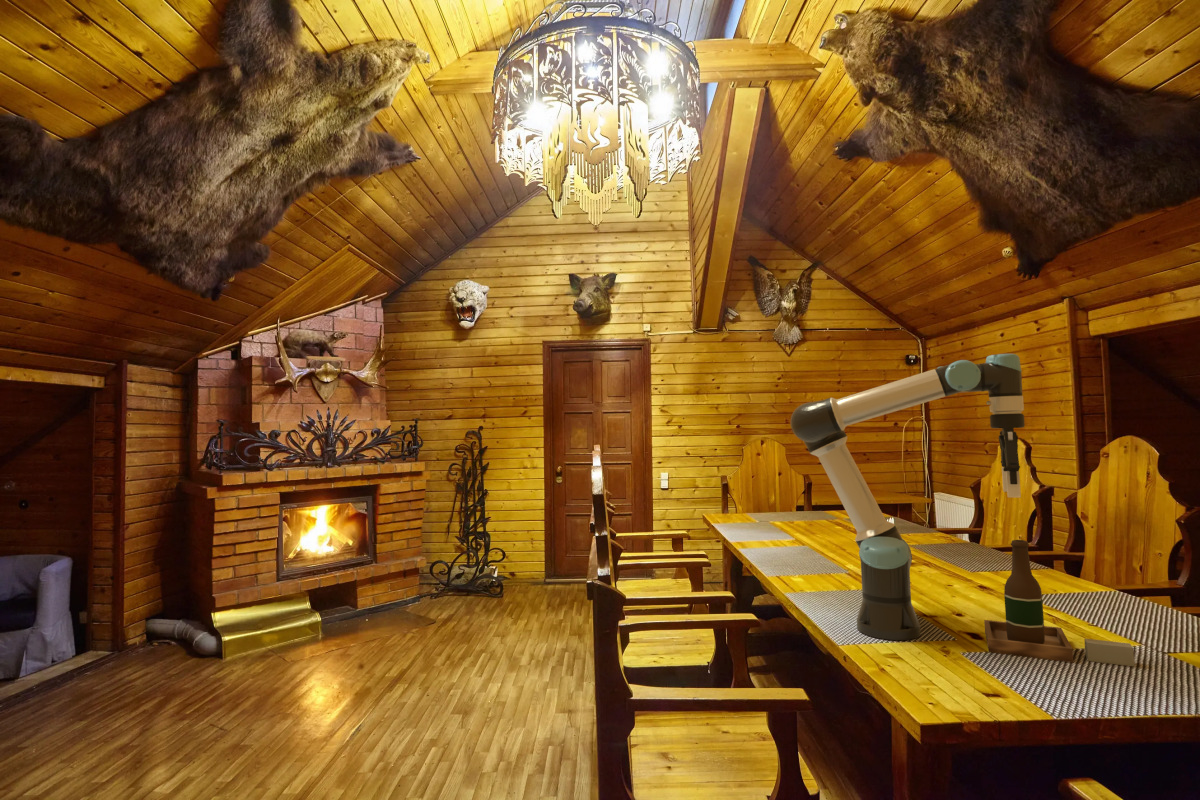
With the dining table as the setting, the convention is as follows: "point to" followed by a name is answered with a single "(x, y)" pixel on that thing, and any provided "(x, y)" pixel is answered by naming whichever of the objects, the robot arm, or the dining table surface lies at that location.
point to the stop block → (1109, 652)
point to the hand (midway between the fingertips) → (1011, 494)
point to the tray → (1050, 649)
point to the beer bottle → (1023, 599)
